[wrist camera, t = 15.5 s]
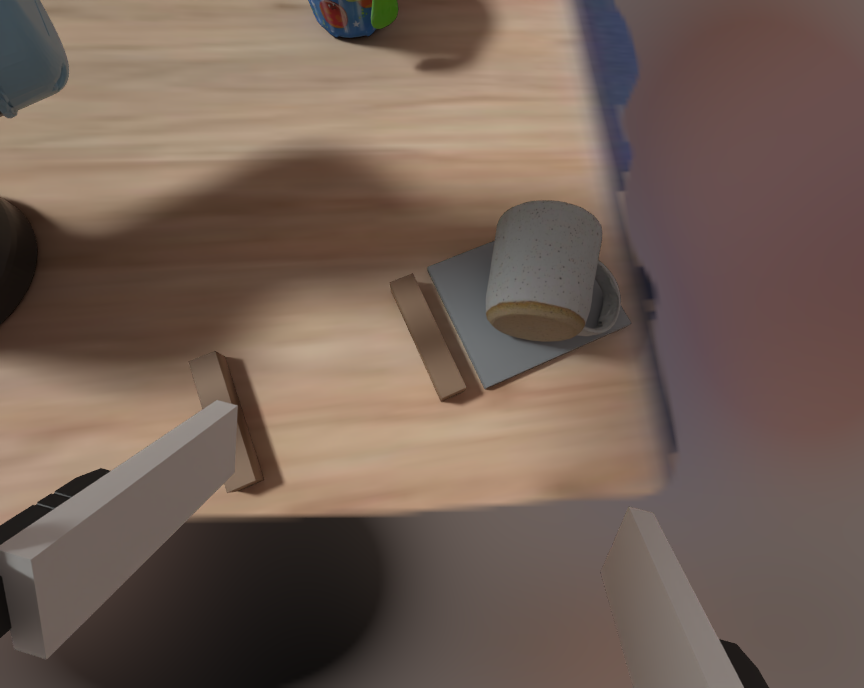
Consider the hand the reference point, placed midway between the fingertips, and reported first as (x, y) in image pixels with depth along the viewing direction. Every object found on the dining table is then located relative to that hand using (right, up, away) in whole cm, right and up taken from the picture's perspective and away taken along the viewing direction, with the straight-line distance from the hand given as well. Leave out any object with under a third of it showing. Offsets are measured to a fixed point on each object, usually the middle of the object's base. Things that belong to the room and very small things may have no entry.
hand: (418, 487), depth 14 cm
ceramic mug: (+10, +9, +20) cm, 24 cm away
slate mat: (+8, +9, +21) cm, 24 cm away
